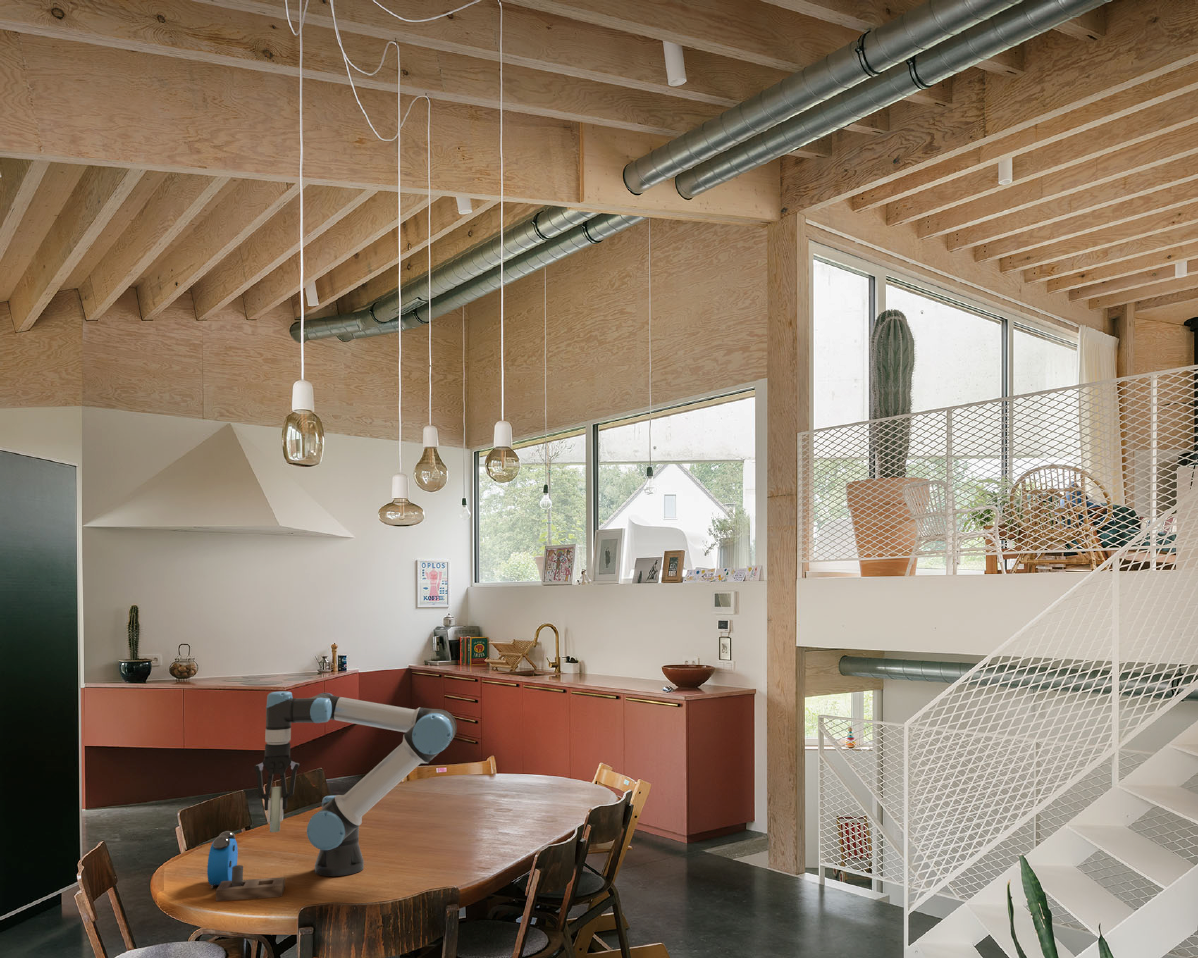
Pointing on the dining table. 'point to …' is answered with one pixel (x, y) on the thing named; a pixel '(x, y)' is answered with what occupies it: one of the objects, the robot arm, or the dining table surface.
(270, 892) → the walnut holder
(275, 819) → the sage candle
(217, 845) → the alarm clock
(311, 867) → the dining table surface
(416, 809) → the dining table surface
